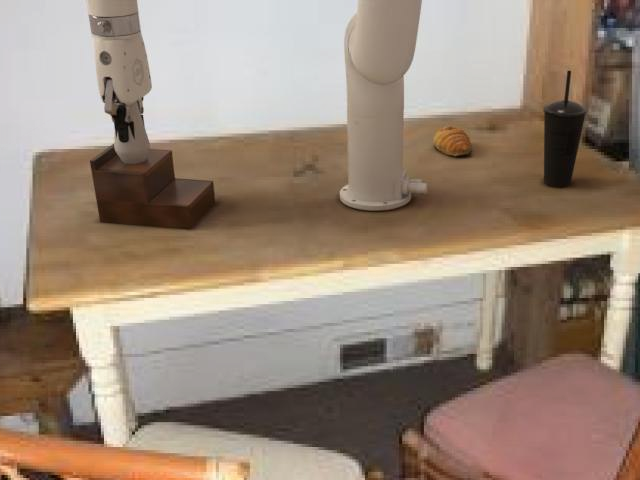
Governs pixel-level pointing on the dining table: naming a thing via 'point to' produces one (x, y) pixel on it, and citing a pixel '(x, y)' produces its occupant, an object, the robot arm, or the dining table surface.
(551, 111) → the drinking cup
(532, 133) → the dining table surface
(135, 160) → the salt shaker
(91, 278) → the dining table surface
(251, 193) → the dining table surface
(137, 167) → the spice rack
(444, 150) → the pastry
